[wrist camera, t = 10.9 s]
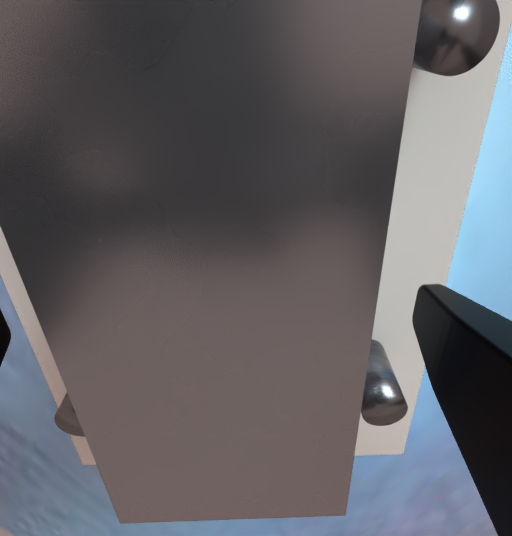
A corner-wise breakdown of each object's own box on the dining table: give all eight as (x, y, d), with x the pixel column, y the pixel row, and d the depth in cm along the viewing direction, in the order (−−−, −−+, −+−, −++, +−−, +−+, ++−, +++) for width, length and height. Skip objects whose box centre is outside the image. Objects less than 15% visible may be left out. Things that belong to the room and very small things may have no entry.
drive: (317, 374, 15) (345, 515, 11) (157, 380, 15) (120, 523, 11) (342, -21, 9) (432, -64, 4) (66, -10, 9) (-108, -41, 4)
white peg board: (395, 434, 18) (424, 513, 15) (90, 444, 18) (60, 526, 16) (580, -378, 7) (829, -679, 4) (-222, -341, 7) (-569, -610, 4)
